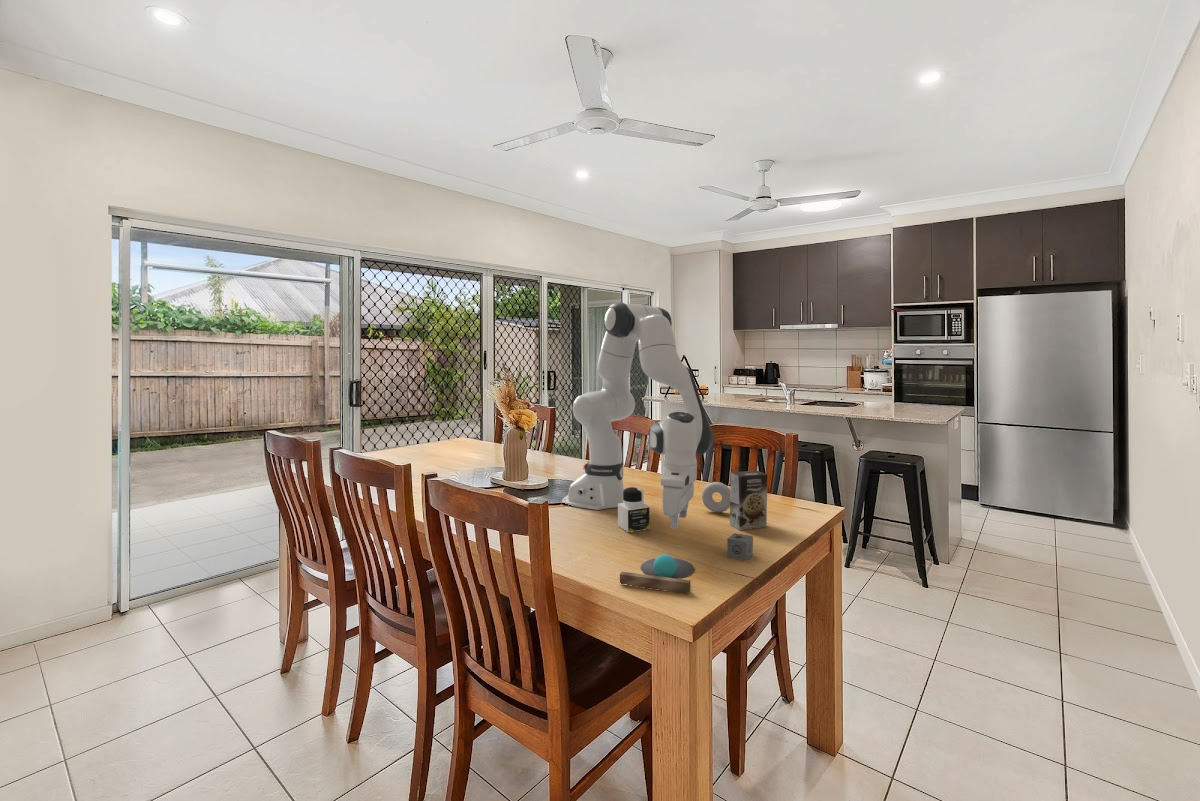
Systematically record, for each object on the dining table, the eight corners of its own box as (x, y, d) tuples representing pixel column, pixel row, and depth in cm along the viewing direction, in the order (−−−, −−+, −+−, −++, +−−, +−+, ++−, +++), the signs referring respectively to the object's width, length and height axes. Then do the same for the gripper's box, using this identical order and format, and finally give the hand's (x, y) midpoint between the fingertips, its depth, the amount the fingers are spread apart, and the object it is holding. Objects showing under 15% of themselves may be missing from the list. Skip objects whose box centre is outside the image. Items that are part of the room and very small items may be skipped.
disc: (634, 575, 138) (634, 574, 138) (649, 555, 150) (649, 555, 150) (688, 582, 134) (688, 581, 134) (698, 561, 146) (698, 560, 146)
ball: (656, 568, 140) (650, 579, 135) (657, 548, 139) (651, 558, 134) (678, 573, 139) (673, 585, 134) (680, 552, 137) (674, 563, 132)
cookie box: (739, 530, 169) (740, 476, 167) (729, 524, 175) (729, 471, 173) (767, 527, 171) (768, 474, 170) (756, 521, 177) (756, 469, 176)
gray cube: (734, 551, 153) (734, 532, 152) (752, 554, 150) (753, 536, 150) (727, 557, 149) (727, 538, 148) (746, 561, 146) (746, 541, 145)
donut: (733, 512, 187) (733, 482, 186) (731, 515, 184) (731, 484, 182) (703, 509, 191) (703, 479, 190) (700, 512, 188) (700, 481, 187)
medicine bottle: (628, 533, 169) (627, 492, 167) (617, 526, 175) (617, 487, 174) (649, 529, 171) (649, 489, 170) (638, 523, 178) (638, 484, 177)
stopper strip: (619, 584, 133) (619, 574, 133) (622, 581, 134) (621, 571, 134) (688, 594, 127) (688, 583, 127) (690, 591, 129) (690, 580, 129)
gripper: (678, 463, 168) (677, 509, 169) (658, 480, 149) (657, 532, 151) (699, 465, 165) (698, 512, 167) (682, 483, 147) (681, 536, 148)
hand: (678, 522), depth 159 cm, fingers open, 8 cm apart
